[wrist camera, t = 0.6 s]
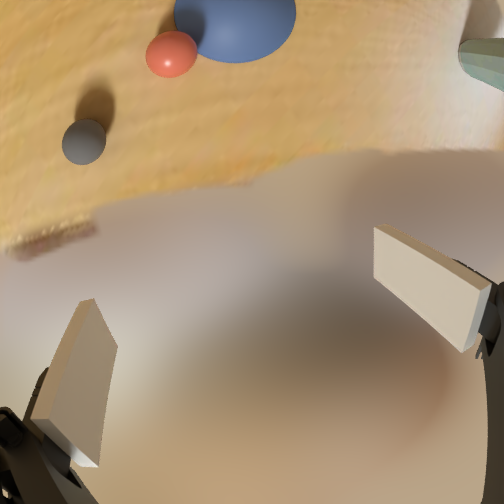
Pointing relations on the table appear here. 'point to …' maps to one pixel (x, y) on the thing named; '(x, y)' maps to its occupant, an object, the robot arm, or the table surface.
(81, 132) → the grey ball
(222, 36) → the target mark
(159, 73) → the red ball
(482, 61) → the disposable coffee cup
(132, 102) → the table surface
